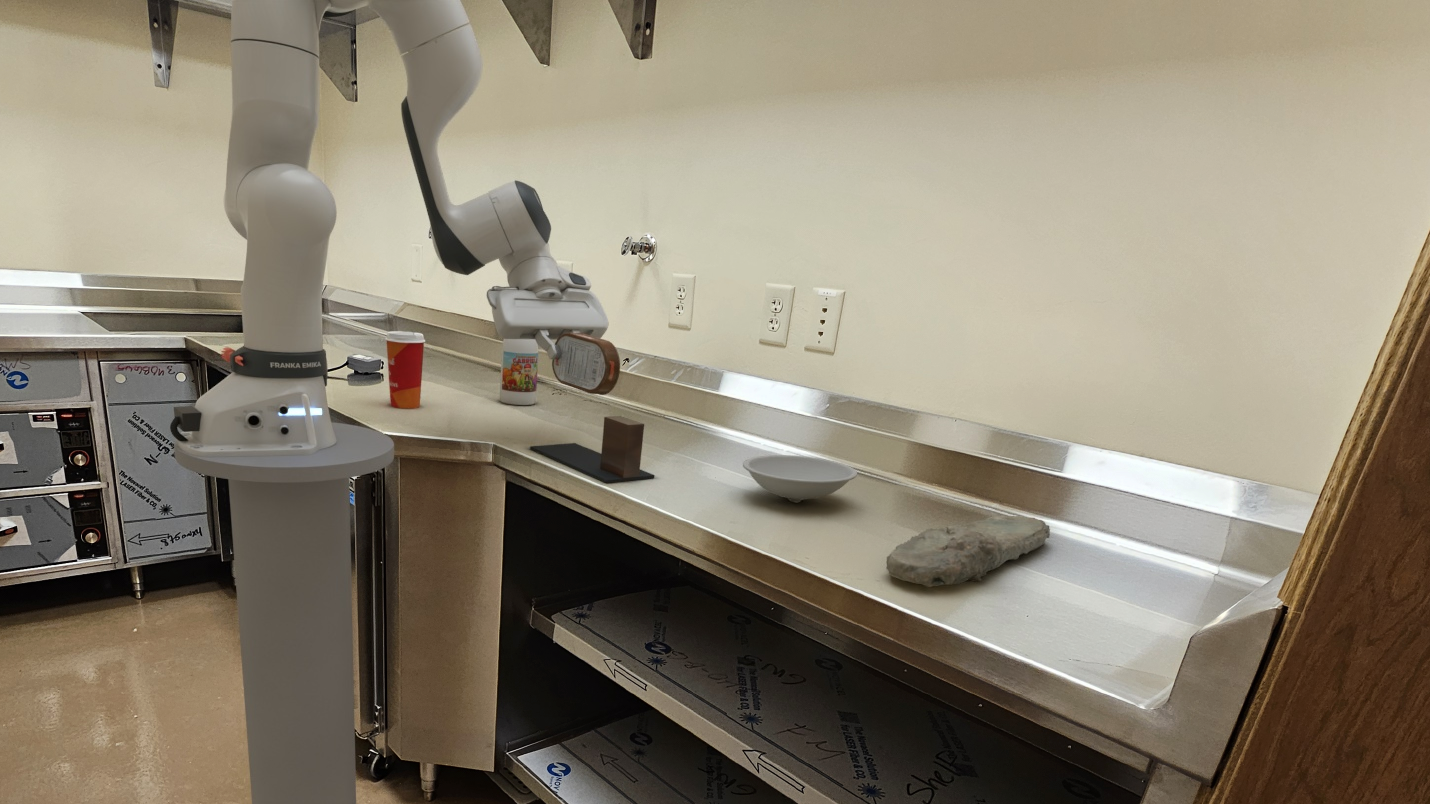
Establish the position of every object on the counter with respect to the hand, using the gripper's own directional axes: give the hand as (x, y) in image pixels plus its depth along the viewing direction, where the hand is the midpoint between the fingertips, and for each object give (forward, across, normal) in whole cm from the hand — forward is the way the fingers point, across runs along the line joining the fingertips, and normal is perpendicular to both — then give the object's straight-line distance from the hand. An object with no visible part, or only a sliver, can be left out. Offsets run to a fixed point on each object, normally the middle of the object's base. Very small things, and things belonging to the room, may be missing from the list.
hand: (566, 357), depth 136 cm
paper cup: (-18, -11, +40) cm, 45 cm away
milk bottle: (-17, +14, +39) cm, 45 cm away
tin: (+7, 0, 0) cm, 7 cm away
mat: (+17, -1, +4) cm, 18 cm away
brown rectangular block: (+23, -1, -2) cm, 23 cm away
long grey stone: (+56, +18, -35) cm, 69 cm away
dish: (+37, +16, -16) cm, 44 cm away
